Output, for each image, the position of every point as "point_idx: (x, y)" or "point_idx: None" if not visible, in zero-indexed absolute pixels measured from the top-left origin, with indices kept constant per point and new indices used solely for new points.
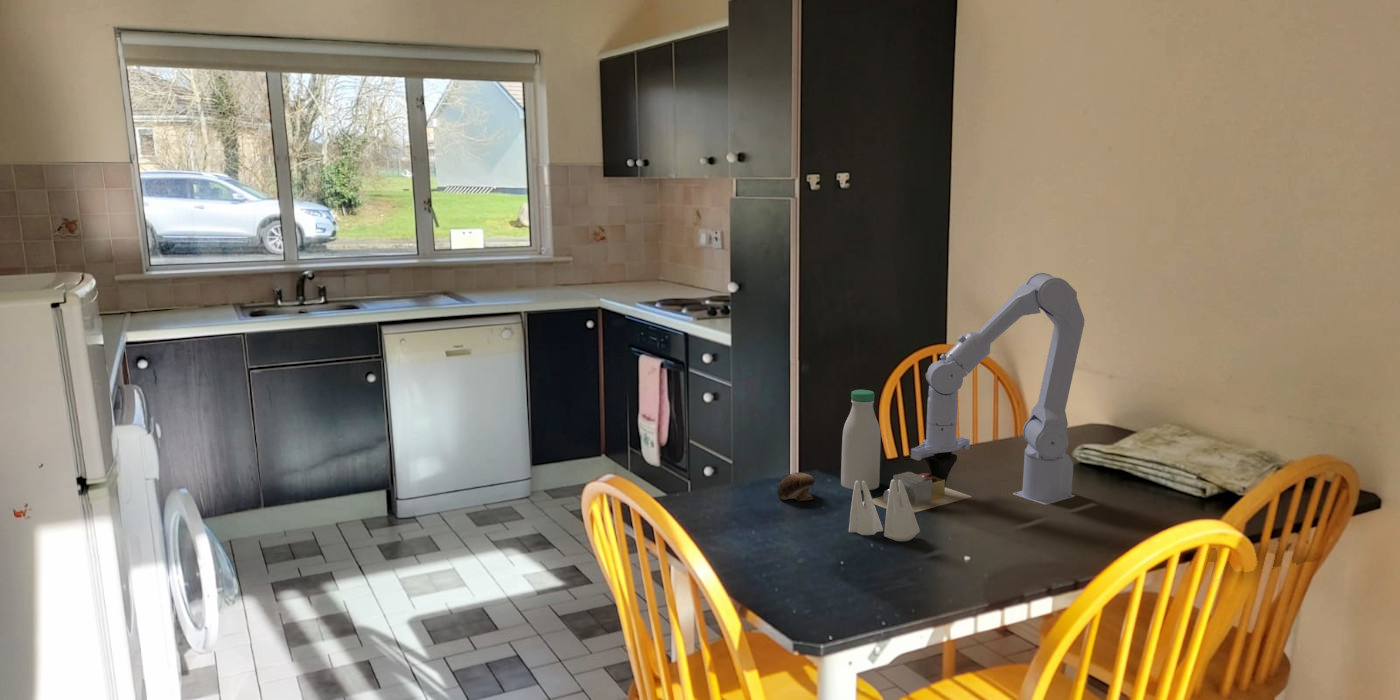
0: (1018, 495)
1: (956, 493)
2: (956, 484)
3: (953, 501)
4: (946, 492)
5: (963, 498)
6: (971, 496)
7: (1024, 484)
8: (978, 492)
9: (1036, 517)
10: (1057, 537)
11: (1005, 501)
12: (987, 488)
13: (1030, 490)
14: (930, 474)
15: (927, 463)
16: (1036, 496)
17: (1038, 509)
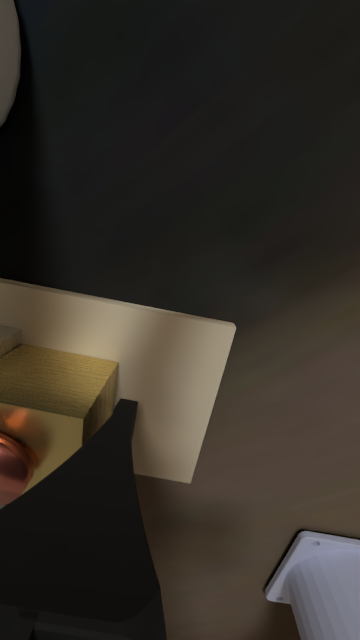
0: (296, 551)
1: (181, 441)
2: (318, 373)
3: None
4: (164, 415)
5: (152, 473)
6: (189, 481)
7: (322, 612)
8: (274, 458)
9: (183, 592)
10: None
11: (244, 528)
12: (337, 460)
13: (298, 609)
14: (14, 484)
15: (15, 499)
16: (289, 598)
17: (239, 582)
